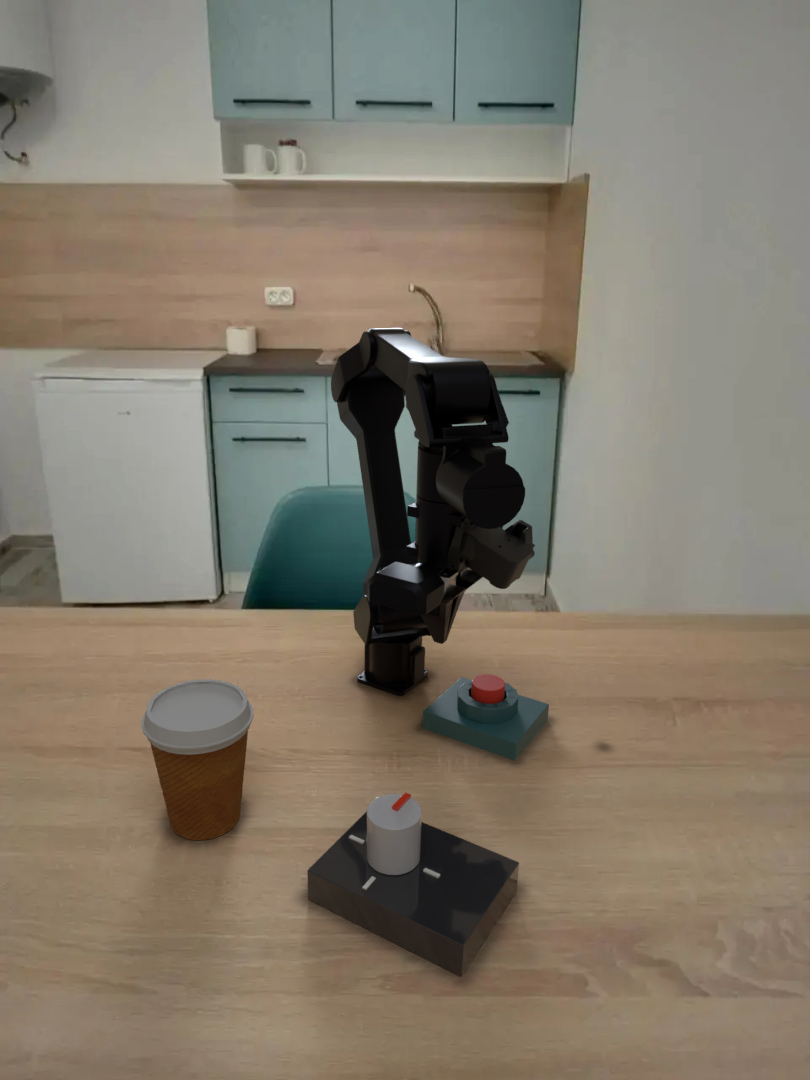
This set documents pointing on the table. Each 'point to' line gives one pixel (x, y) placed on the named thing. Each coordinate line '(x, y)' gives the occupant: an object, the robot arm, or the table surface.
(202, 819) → the disposable coffee cup
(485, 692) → the button
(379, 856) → the hob knob
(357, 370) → the robot arm
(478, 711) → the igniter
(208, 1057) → the table surface
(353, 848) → the hob panel
